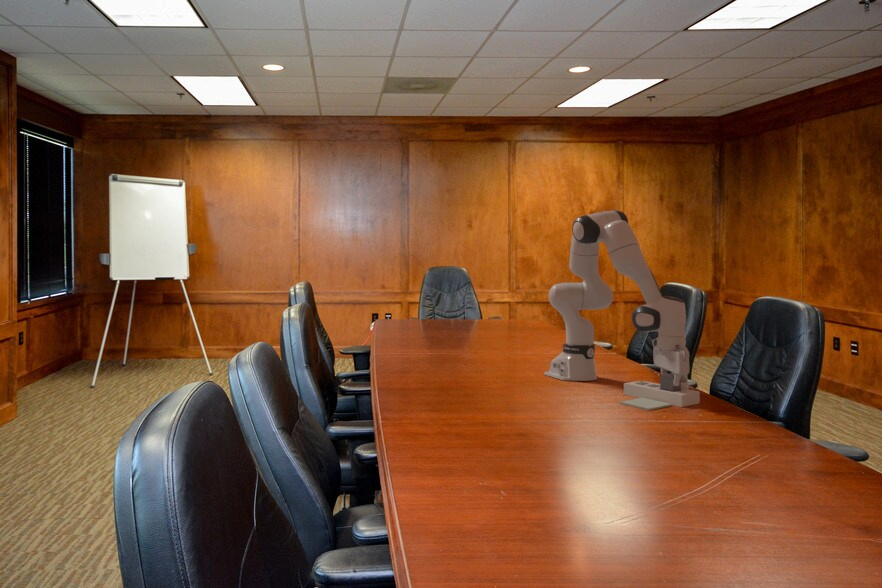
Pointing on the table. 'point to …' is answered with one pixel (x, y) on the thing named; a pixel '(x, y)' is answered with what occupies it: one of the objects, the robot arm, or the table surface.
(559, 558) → the table surface
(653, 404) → the mat
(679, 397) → the grey holed block
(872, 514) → the table surface
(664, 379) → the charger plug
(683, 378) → the plastic bottle
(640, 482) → the table surface
